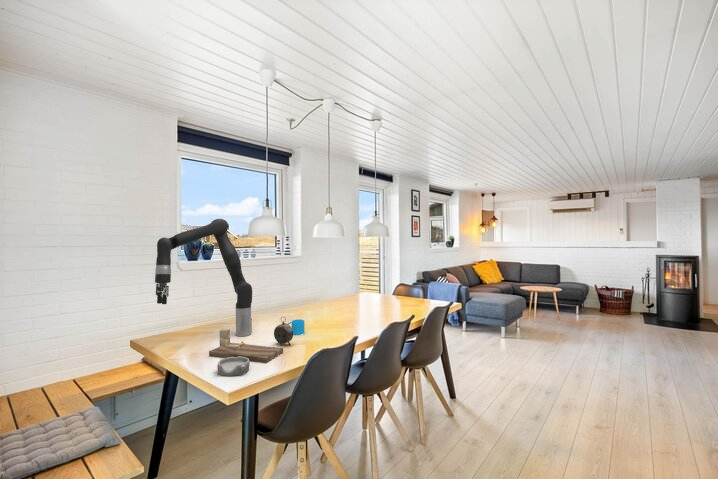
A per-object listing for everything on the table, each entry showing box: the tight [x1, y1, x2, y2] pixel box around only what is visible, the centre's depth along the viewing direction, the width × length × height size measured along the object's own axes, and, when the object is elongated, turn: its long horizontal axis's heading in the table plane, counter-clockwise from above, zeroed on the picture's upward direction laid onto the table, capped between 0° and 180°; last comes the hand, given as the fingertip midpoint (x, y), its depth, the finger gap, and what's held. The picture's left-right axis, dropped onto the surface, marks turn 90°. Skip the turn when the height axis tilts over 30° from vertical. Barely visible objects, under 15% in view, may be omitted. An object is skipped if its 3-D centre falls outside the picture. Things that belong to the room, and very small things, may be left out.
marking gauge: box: [219, 328, 246, 351], centre depth 186 cm, size 10×10×10 cm
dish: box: [217, 356, 251, 377], centre depth 159 cm, size 14×14×5 cm
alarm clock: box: [273, 316, 294, 347], centre depth 198 cm, size 11×5×16 cm, turn 65°
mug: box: [287, 319, 305, 336], centre depth 222 cm, size 12×8×8 cm
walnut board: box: [208, 342, 284, 364], centre depth 182 cm, size 16×34×2 cm, turn 73°
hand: (161, 303), depth 188 cm, fingers open, 8 cm apart
